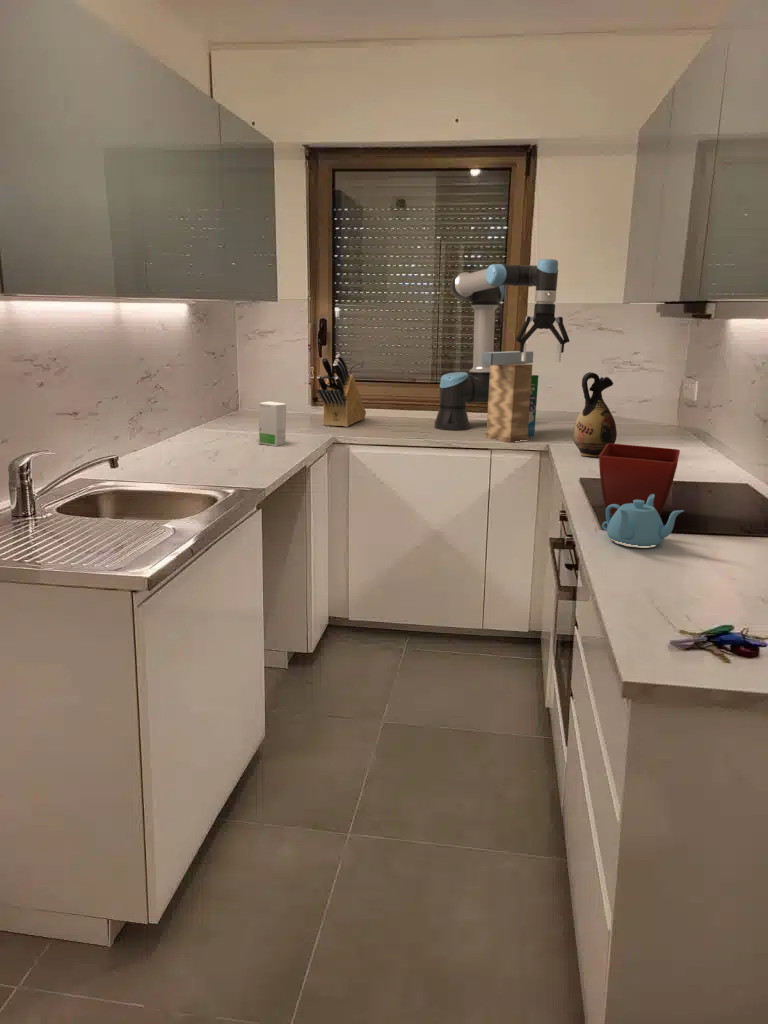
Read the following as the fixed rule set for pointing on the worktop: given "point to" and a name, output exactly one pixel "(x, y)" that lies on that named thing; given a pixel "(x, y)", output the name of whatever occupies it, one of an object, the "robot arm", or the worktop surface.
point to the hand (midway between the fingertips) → (540, 361)
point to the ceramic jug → (594, 419)
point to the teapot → (638, 523)
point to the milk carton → (533, 405)
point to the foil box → (505, 358)
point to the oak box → (509, 402)
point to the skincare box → (272, 423)
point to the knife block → (340, 395)
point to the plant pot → (636, 474)
